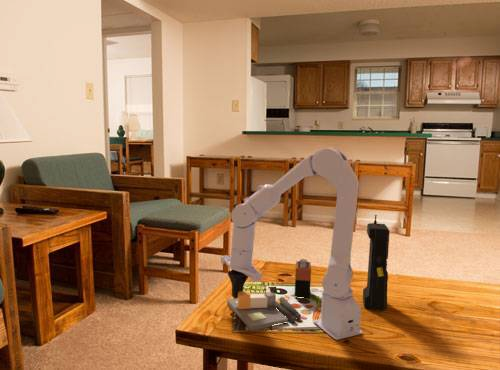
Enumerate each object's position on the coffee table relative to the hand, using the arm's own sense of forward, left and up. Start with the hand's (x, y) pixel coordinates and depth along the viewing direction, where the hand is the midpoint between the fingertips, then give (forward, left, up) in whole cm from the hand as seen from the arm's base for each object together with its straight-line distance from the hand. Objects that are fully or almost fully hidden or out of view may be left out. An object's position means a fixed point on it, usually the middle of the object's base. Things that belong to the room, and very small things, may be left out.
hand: (237, 297), depth 105 cm
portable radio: (-12, -37, -4) cm, 39 cm away
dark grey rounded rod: (-6, -13, -3) cm, 14 cm away
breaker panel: (-4, -4, -3) cm, 7 cm away
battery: (+2, -22, -4) cm, 22 cm away
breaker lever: (-3, -4, -2) cm, 6 cm away
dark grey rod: (-5, -10, -3) cm, 12 cm away
